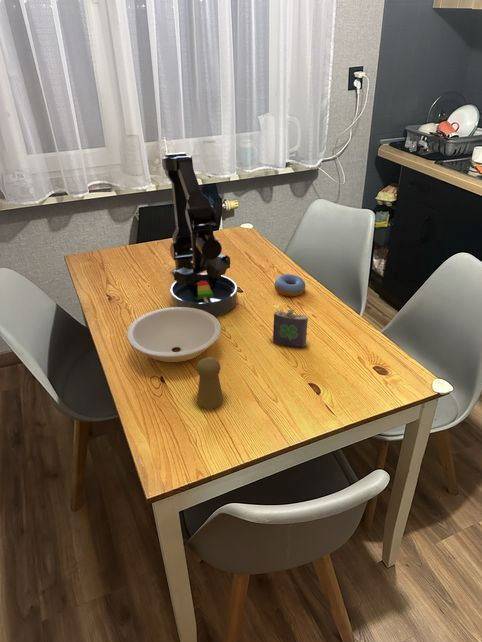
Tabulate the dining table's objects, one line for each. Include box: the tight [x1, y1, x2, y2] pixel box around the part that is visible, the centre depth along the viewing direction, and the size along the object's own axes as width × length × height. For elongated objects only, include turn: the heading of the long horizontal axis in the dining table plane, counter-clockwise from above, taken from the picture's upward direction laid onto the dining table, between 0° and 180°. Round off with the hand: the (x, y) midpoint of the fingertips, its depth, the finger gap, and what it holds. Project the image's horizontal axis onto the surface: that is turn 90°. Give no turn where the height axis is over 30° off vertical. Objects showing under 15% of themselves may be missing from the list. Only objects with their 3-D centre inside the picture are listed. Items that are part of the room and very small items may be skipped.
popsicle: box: [195, 281, 213, 303], centre depth 153 cm, size 6×15×2 cm, turn 17°
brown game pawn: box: [196, 357, 224, 410], centre depth 112 cm, size 6×6×11 cm
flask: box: [272, 308, 309, 349], centre depth 132 cm, size 9×3×11 cm, turn 74°
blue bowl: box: [169, 273, 238, 318], centre depth 153 cm, size 20×20×5 cm
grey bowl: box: [126, 306, 222, 363], centre depth 130 cm, size 24×24×7 cm
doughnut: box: [274, 273, 306, 297], centre depth 160 cm, size 10×10×5 cm
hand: (204, 293), depth 153 cm, fingers closed on popsicle, 7 cm apart
